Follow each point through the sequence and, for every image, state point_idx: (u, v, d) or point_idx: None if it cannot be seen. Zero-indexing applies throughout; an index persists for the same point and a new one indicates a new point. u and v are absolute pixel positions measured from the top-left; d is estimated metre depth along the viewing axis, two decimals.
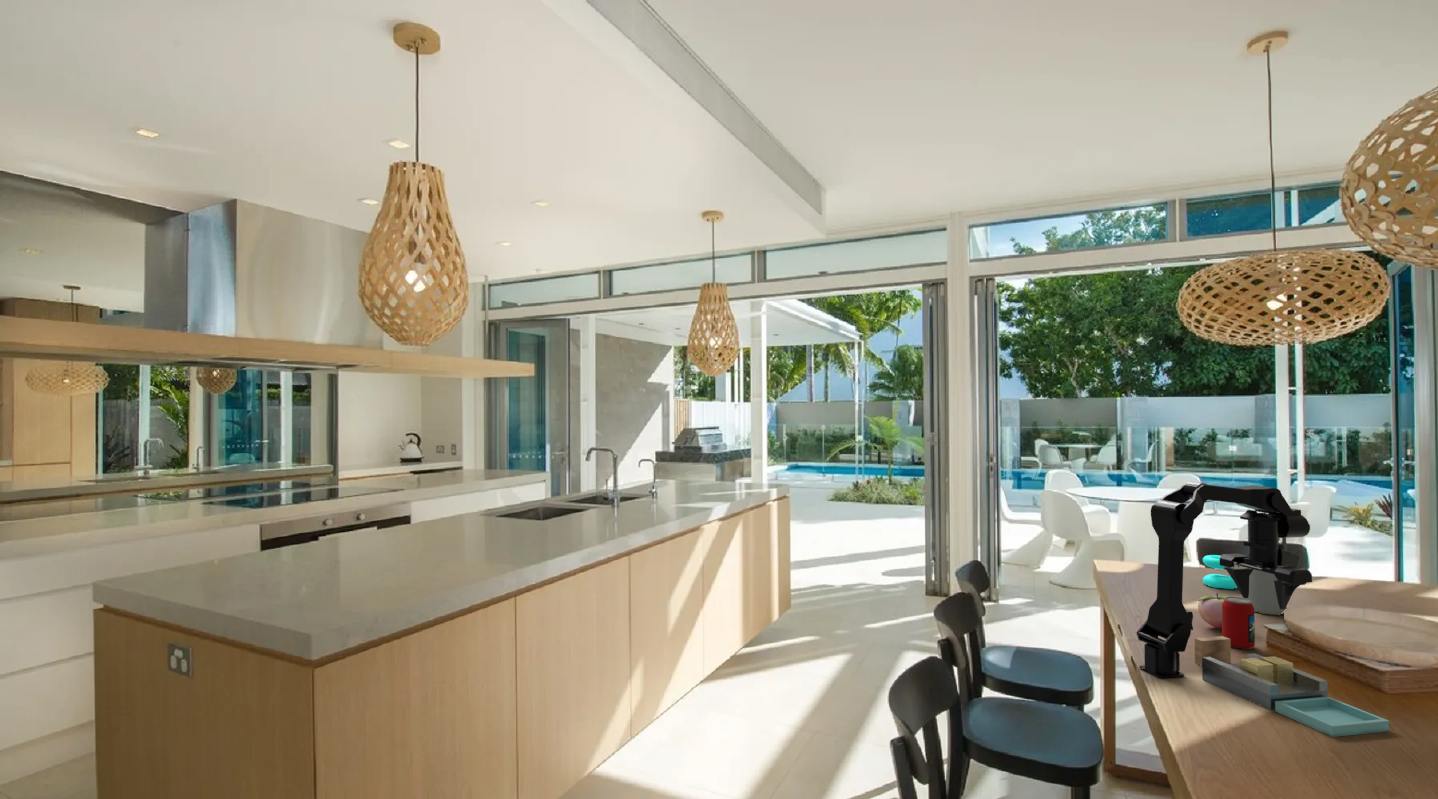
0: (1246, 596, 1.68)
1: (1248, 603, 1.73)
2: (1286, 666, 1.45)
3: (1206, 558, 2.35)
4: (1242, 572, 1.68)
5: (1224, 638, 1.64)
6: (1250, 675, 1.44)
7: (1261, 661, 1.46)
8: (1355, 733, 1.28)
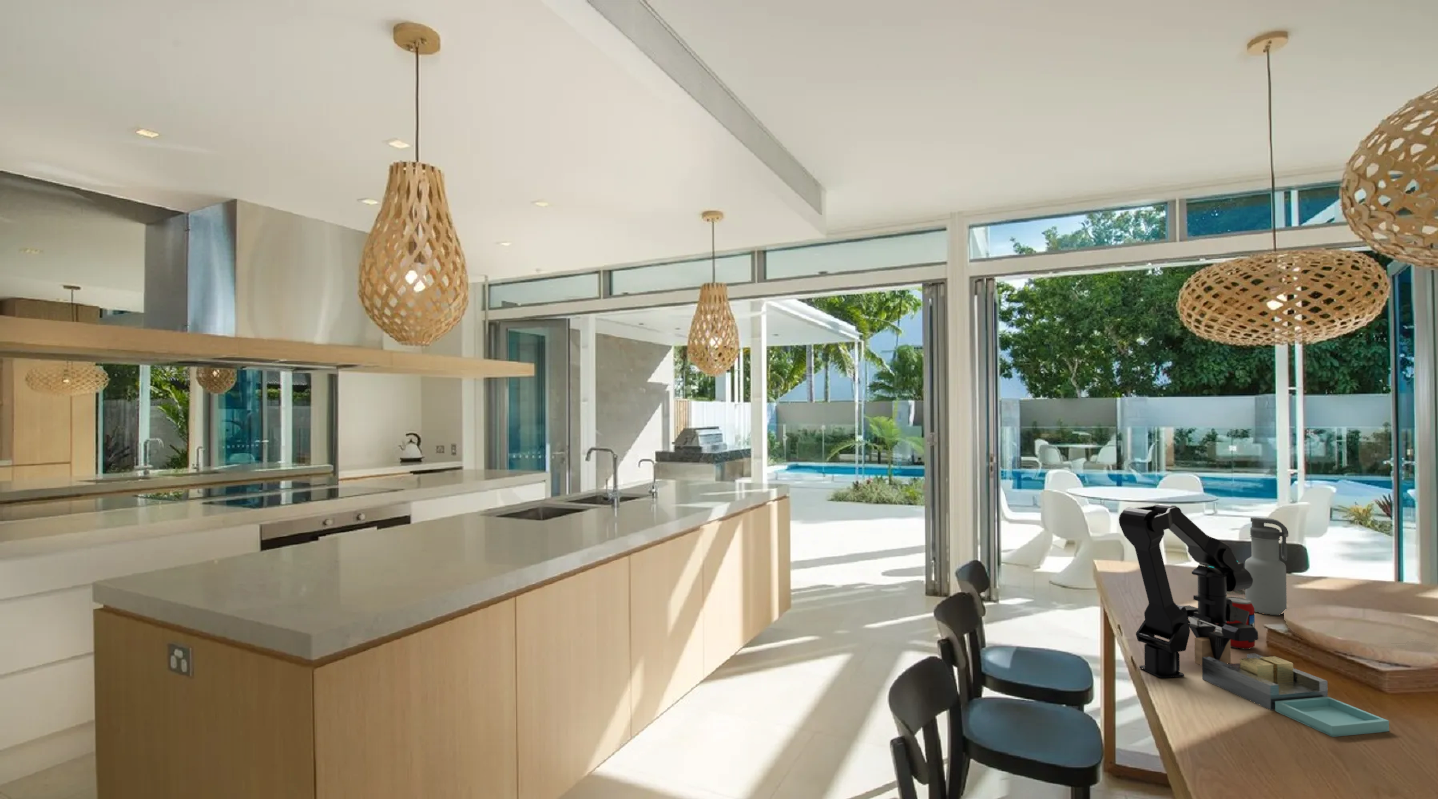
0: None
1: (1248, 603, 1.73)
2: (1286, 666, 1.45)
3: None
4: (1205, 630, 1.65)
5: None
6: (1250, 675, 1.44)
7: (1261, 661, 1.46)
8: (1355, 733, 1.28)
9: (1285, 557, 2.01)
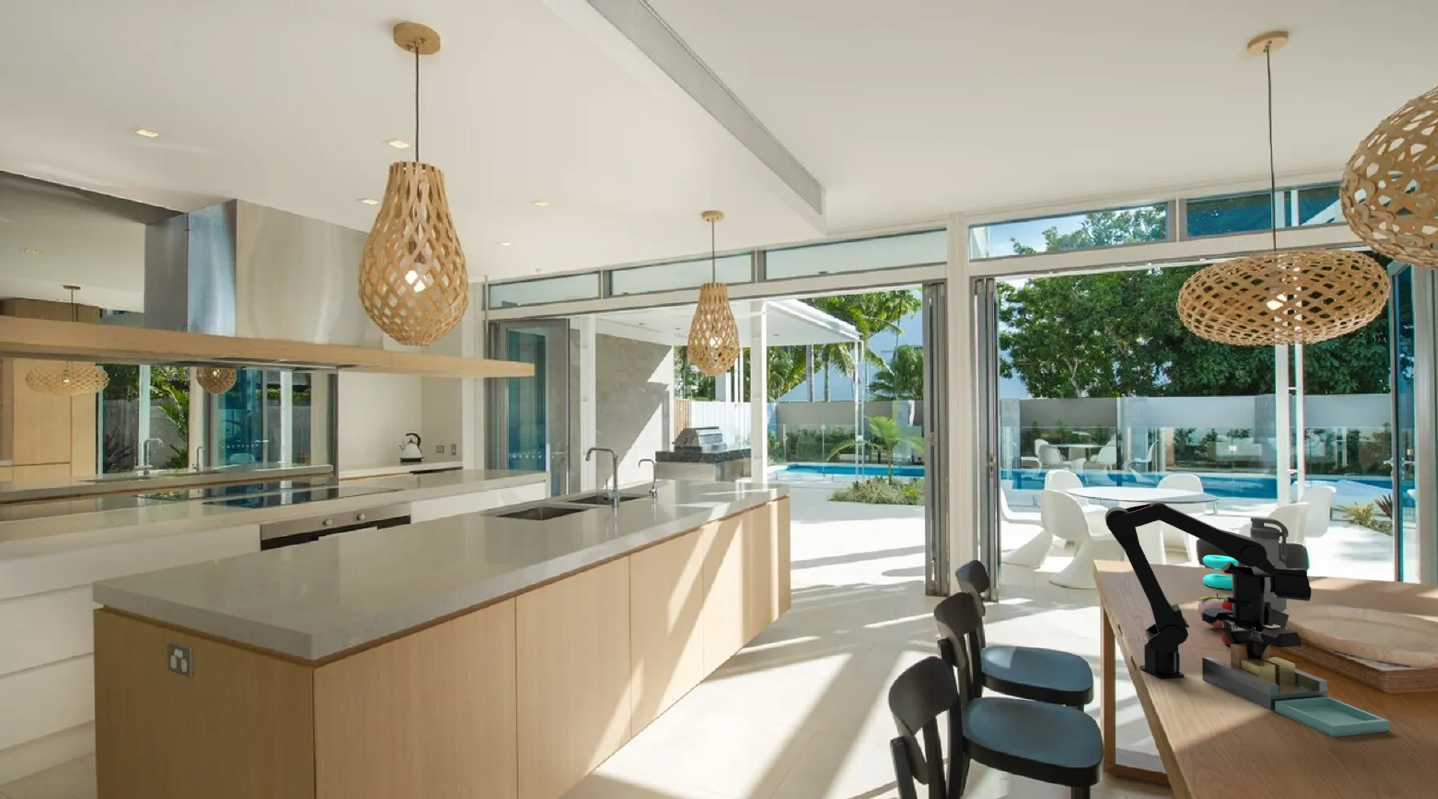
0: None
1: None
2: (1288, 667, 1.45)
3: (1206, 558, 2.35)
4: (1240, 634, 1.52)
5: None
6: (1250, 675, 1.44)
7: (1263, 662, 1.46)
8: (1355, 733, 1.28)
9: (1285, 557, 2.01)
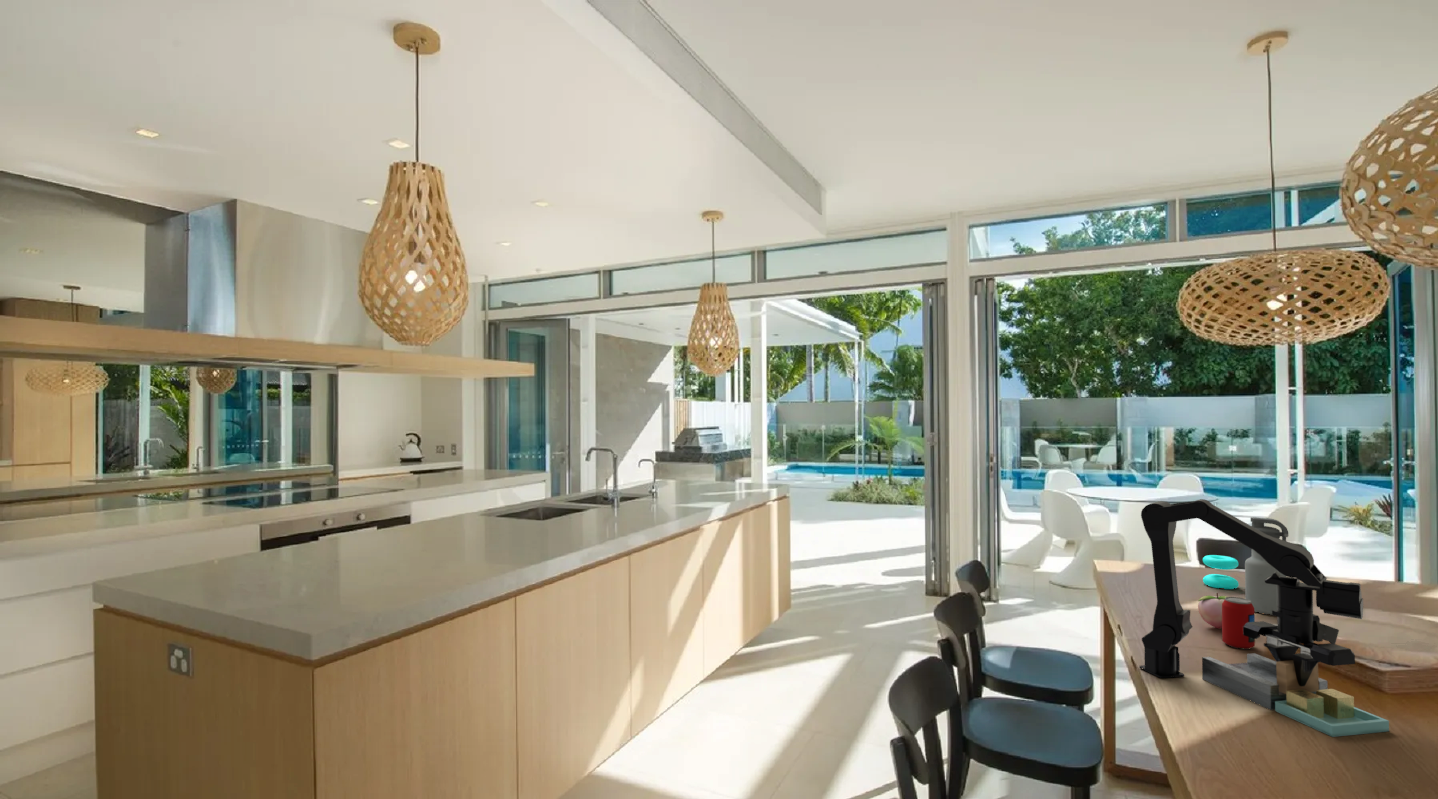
0: None
1: (1248, 603, 1.73)
2: None
3: (1206, 558, 2.35)
4: (1286, 650, 1.42)
5: None
6: (1250, 675, 1.44)
7: (1320, 708, 1.34)
8: (1355, 733, 1.28)
9: None
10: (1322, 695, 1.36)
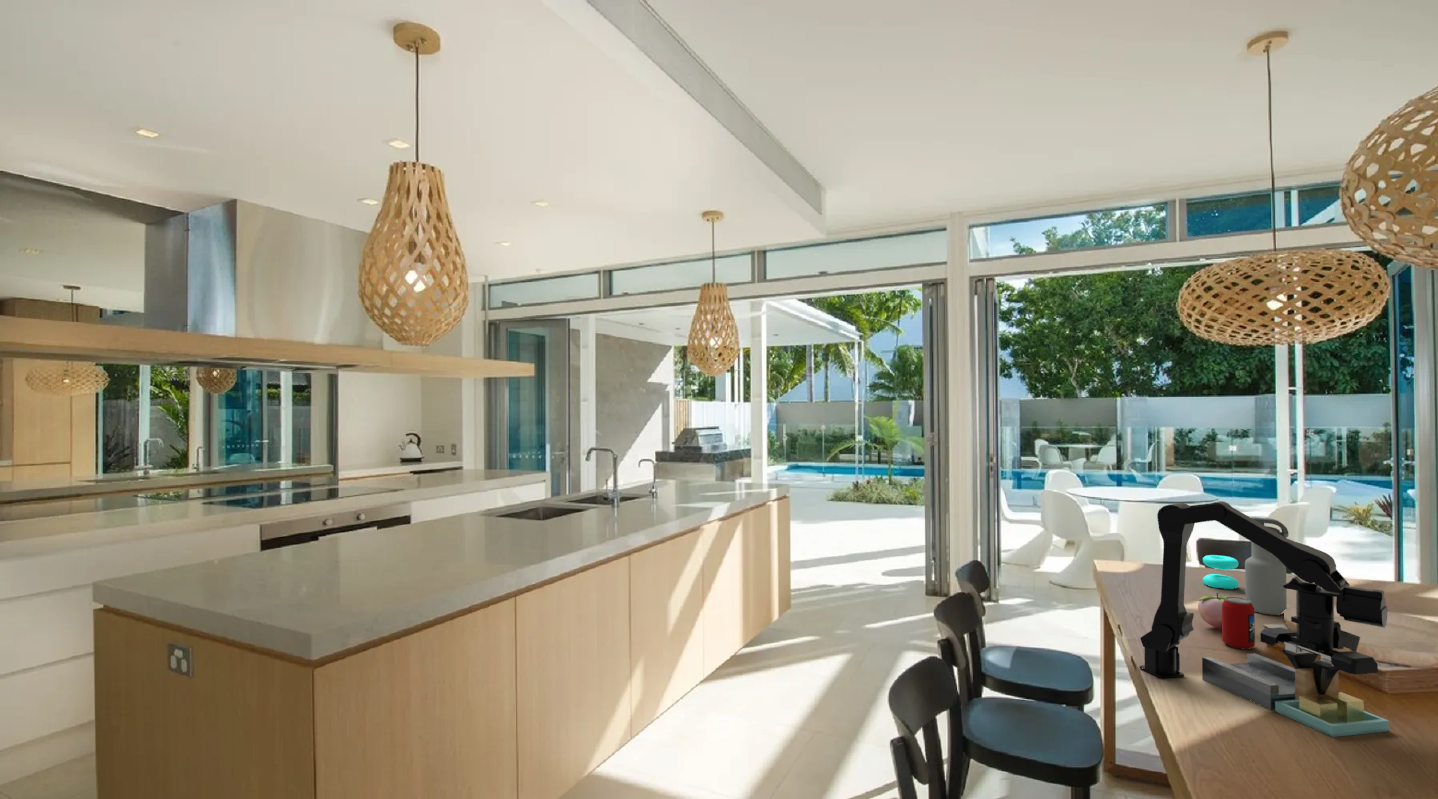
0: None
1: (1248, 603, 1.73)
2: None
3: (1206, 558, 2.35)
4: (1305, 658, 1.38)
5: None
6: (1250, 675, 1.44)
7: (1333, 714, 1.31)
8: (1355, 733, 1.28)
9: None
10: (1331, 699, 1.34)
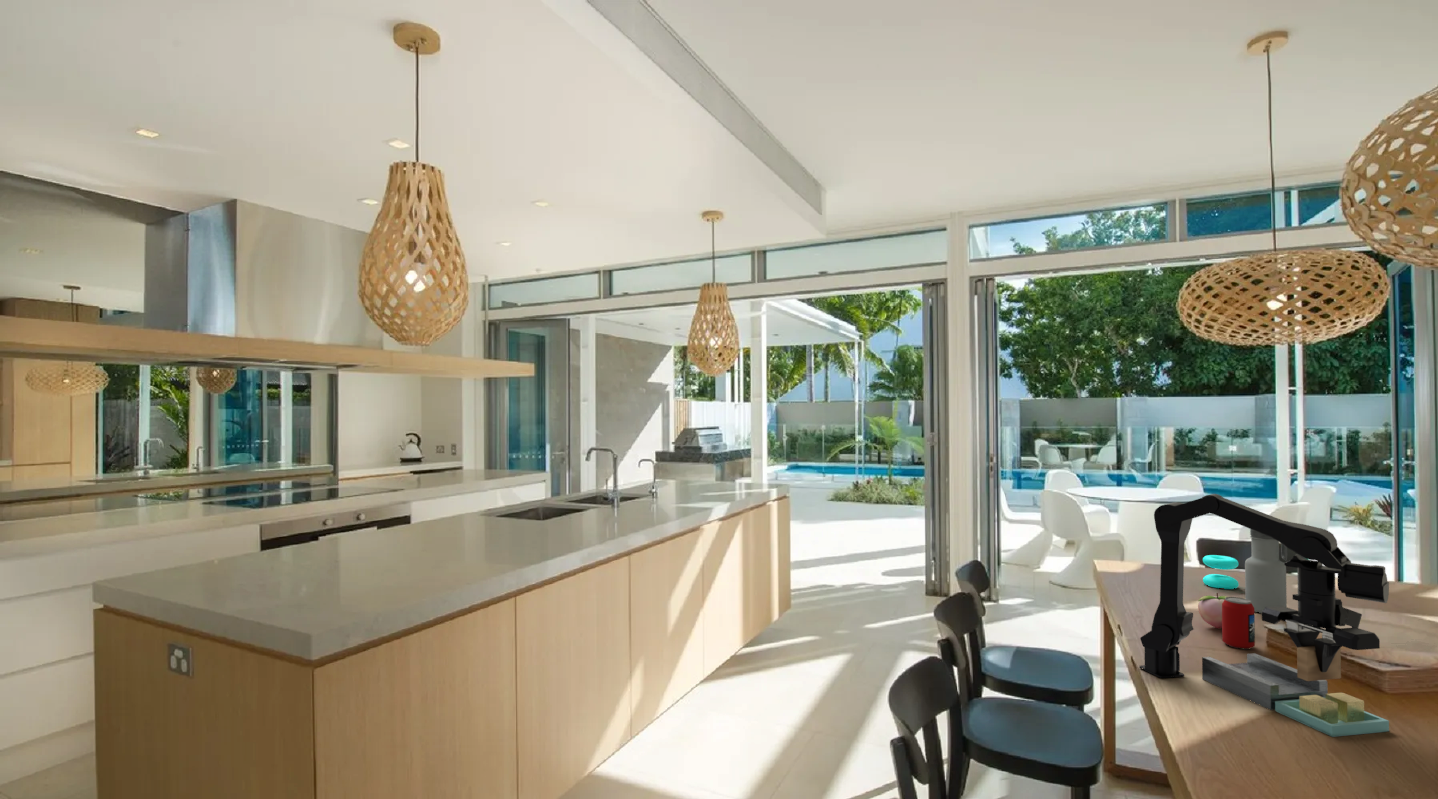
0: None
1: (1248, 603, 1.73)
2: None
3: (1206, 558, 2.35)
4: (1307, 635, 1.38)
5: None
6: (1250, 675, 1.44)
7: (1334, 714, 1.31)
8: (1355, 733, 1.28)
9: (1285, 557, 2.01)
10: (1331, 699, 1.34)
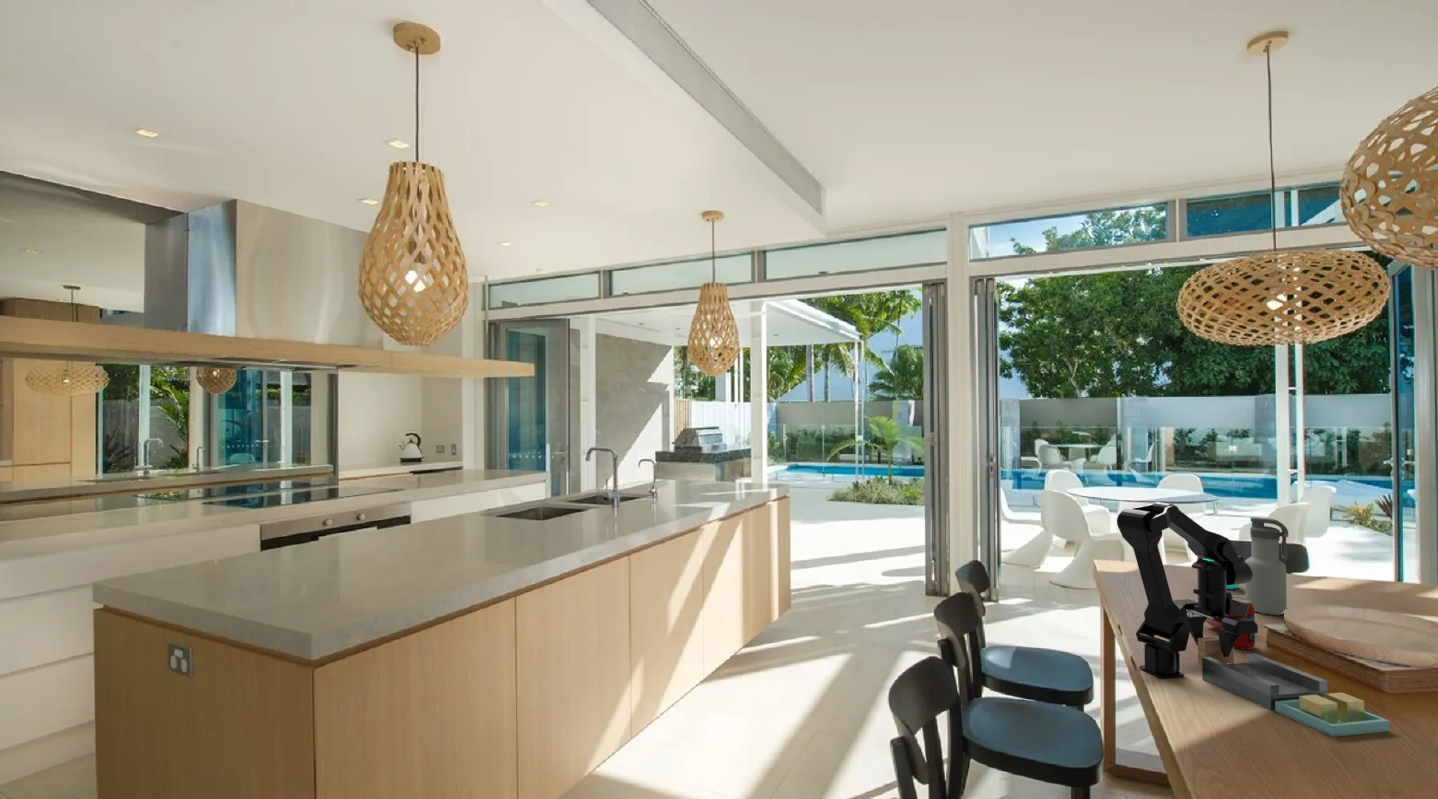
0: None
1: (1248, 603, 1.73)
2: None
3: None
4: (1196, 620, 1.68)
5: None
6: (1250, 675, 1.44)
7: (1334, 714, 1.31)
8: (1355, 733, 1.28)
9: (1285, 557, 2.01)
10: (1331, 699, 1.34)
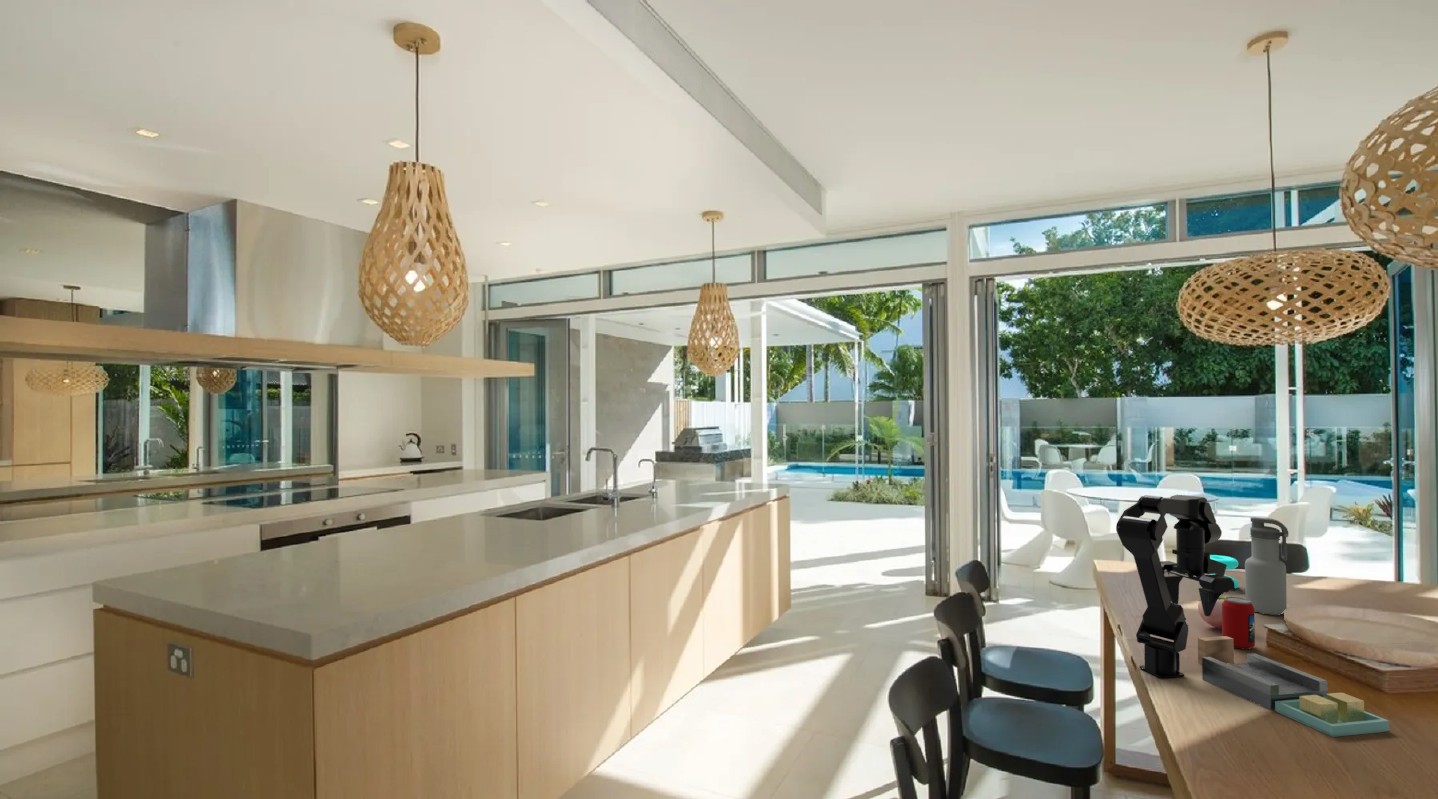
0: (1176, 602, 1.71)
1: (1248, 603, 1.73)
2: None
3: None
4: (1172, 579, 1.71)
5: (1227, 638, 1.64)
6: (1250, 675, 1.44)
7: (1334, 714, 1.31)
8: (1355, 733, 1.28)
9: (1285, 557, 2.01)
10: (1331, 699, 1.34)
